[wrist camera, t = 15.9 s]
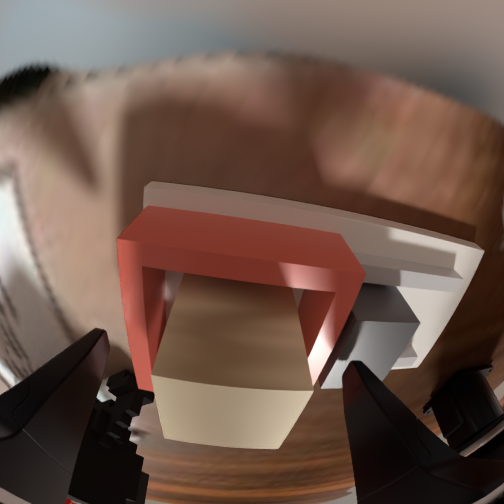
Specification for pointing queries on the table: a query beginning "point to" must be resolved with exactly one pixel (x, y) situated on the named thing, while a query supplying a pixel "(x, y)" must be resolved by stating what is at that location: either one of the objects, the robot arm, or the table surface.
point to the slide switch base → (283, 264)
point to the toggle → (371, 334)
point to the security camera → (110, 447)
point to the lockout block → (231, 364)
